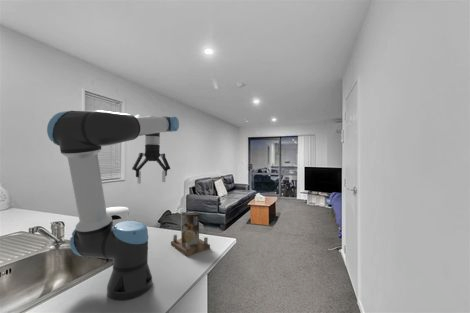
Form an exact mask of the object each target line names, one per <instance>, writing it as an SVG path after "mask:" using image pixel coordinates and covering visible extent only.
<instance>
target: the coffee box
mask: <svg viewBox="0 0 470 313" xmlns="http://www.w3.org/2000/svg"><path fill="white" fill-rule="evenodd" d="M199 215H200V214H199V212H198V211H187V212H186V211H185V212H181V213H180V216H181V217H180V218H181V219H180V221H181V222H180V223H181V224H180V228H181V229H180V230H181V235H180V236H181V238H180V239H181V243H182V246H186V243H187V242H189V243H190V245H196V244H199V239H200V216H199Z"/></svg>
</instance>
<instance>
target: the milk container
mask: <svg viewBox="0 0 470 313" xmlns="http://www.w3.org/2000/svg"><path fill="white" fill-rule="evenodd" d="M106 213H107V215H109V216H111V217H112V221H113V225H114V226H115V225H116V224H117V223H119V222H124V221H128V222H129V221H130V209H129V207H128V206H110V207H106Z"/></svg>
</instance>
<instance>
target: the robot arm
mask: <svg viewBox="0 0 470 313" xmlns="http://www.w3.org/2000/svg"><path fill="white" fill-rule="evenodd" d="M46 127H47V128H46V134H47V137H48V139H49V140H50V141H51V142H52V143H53V144H54V145H57V146H59V151H60V153H61V155H63V156H65V157H67V160H68V167H69V172H70V176H71V178H70V179H71V183H72V187H73V188H72V189H73V194H74V199H75V203H76V209H77V215H78V220H79V221H78V223H76V224H75V228H74V229H73V231H72V233H71V237H70V238H69V245H70V249H71V250H72V252H73V254H75V255H77V256H79V257H82V258H83V257H84V258H87V259H89V258H95V259H107V260H112V271H111V274H110V277H109V280H108V283H107V286H106V294H107V297H109V298H110V299H112V300H116V301H122V300H123V301H124V300H125V301H126V300H131V299H134V298H137V297H139V296H141V295H143V294H145V293H146V292H147V291H149V290H150V289H151V287H152V285H153V274H152V272H151V269H150V266H149V262H148V256H149V255H148V254H149V252H148V251H149V250H148V248H149V233H148V232H149V230H148V227H147V225H146V224H144V223H143V222H140V221H136V220H129V222H128V221H124V222H119V223H117V224H116V225H115V226H114V225H113V221H112V217H111V216H109V215H107V213H106V208H107V207H106V201H105V195H104V188H103V182H102V177H101V176H102V174H101V169H100V163H99V162H100V160H99V157H98V154H99V153H100V152H101V150H103V149H102V147H104V146H105V147H107V146H111V145H116V144H121V143H124V142H129V141H133V140H136V139H138V137H141V136H145V140H144V142H145V144H144V146H145V147H144V152H139V153H138V157H137V158H136V161H135V163H134V164H133V166H132V168H131V169H132V171H135V177H136V178H137V184H139V185H141V184H142V182H141V178H142V177H141V176H142V172H141V169H142V168H143V167H144V166H145V165H146V164H147V163H148V162H156V163H157V164H158V165H159V166H160V167H161V169H162V171H161V175H162V177H161V183H166V177H167V175H168V171H169V170H171V167H170V165H169V163H168V160H167V158H166V154H165V153H164V152H163V153H160V147H161V146H160V144H161V136H160V135H161V133H166V132H170V133H172V132H177V131H178V130H179V128H180V121H179V119H178V117H177V116H172V115H170V116H169V115H168V116H163V115H162V116H156V115H147V116H145V115H140V114H136V115H133V114H130V113H123V112H113V111H109V110H108V111H107V110H66V111H61V112H57V113H55V114H54V115H53V116H52V117H51V118H50V119H49V121H48V124H47V126H46ZM143 157H145V158H144V159H143V160H142V158H143ZM160 158H161V159H162V161H161V159H160ZM141 161H142V162H141ZM140 162H141V163H140Z"/></svg>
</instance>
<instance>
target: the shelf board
mask: <svg viewBox="0 0 470 313" xmlns="http://www.w3.org/2000/svg"><path fill="white" fill-rule="evenodd" d="M172 237H173V240H171V241H170V246H171V247H173V248H174V247H175V248H174V249H176V250H177V251H178V250H179V251H178V252H180V253H181V254H182V255H183V256H185V257H188V256H191V255H195V254H197V253H201V252H204V251H207V250H210V249H211V244H209V243H208V239H209V238H208V237H204V238H203V239H204V240H203V239H200V238H199V244H196V245H190V243H189V242H187V243H186V246H182V243H181V238H178V234H173V236H172Z"/></svg>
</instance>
